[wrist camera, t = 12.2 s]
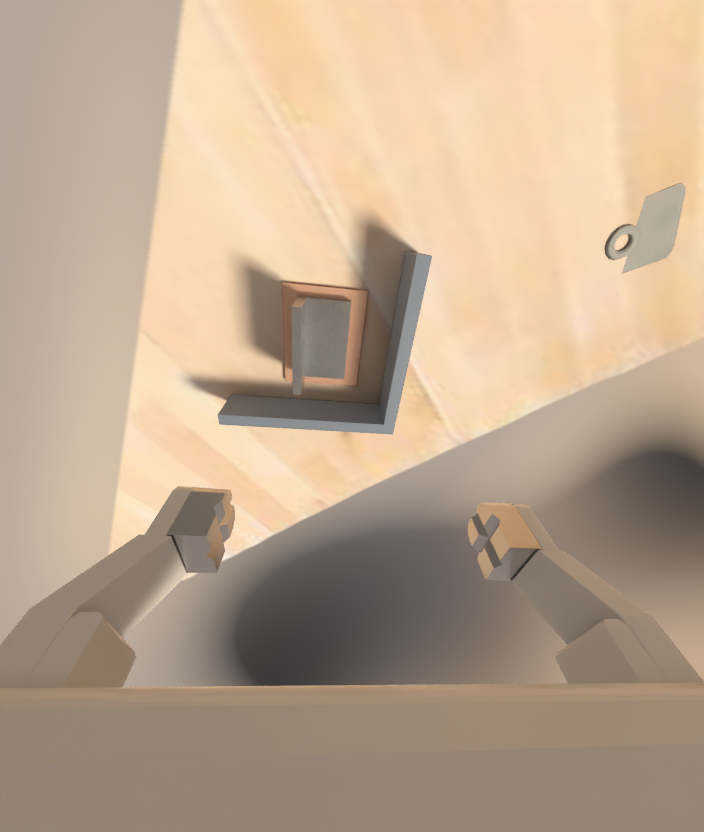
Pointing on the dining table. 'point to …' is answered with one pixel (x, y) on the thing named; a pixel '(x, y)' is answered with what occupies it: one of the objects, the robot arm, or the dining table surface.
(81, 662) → the robot arm
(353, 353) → the mat
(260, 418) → the grey l-shaped piece
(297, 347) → the angle bracket
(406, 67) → the dining table surface
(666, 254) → the mounting bracket
